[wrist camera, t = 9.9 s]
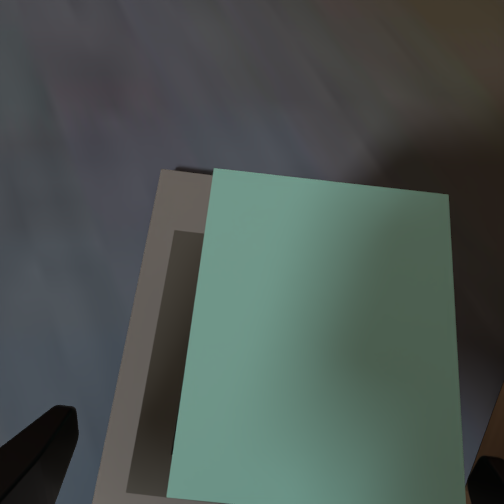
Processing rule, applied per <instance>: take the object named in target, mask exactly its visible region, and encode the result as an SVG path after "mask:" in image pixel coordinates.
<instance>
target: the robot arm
mask: <svg viewBox="0 0 504 504" xmlns="http://www.w3.org/2000/svg"><path fill="white" fill-rule="evenodd" d="M78 435H79V430H78V421H77V412H76V409H75V408H74V407H72V406H65V405H56V406H54V407H52V408H51V409H50V410H48V411H47V412H46V413H44V414H43V415H42V416H41V417H39V418H38V419H37V420H35V421H34V422H33V423H31V424H30V425H29V426H28V427H26V428H25V429H24V430H22V431H21V432H20V433H18V434H17V435H16V436H15V437H13V438H12V439H11V440H9V441H8V442H7V443H5V444H4V445H3V446H2V447H0V504H55V502H56V499H57V496H58V493H59V491H60V488H61V485H62V483H63V480H64V477H65V474H66V472H67V469H68V466H69V463H70V461H71V458H72V455H73V452H74V450H75V447H76V444H77V441H78ZM467 488H468V493H469V497H470V501H471V504H504V460H503V459H502V458H500V457H495V456H487V455H482V456H481V457H479V458H478V460H477V462H476V464H475V466H474V467H473V469H472V471H471V473H470V475H469V477H468V480H467Z"/></svg>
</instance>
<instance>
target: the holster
mask: <svg viewBox="0 0 504 504" xmlns="http://www.w3.org/2000/svg"><path fill="white" fill-rule="evenodd" d="M482 455H487V456H495V457H500V458H502V459H503V460H504V383H503V385H502V388H501V391H500V394H499V396H498V399H497V402H496V405H495V407H494V410H493V413H492V416H491V418H490V421H489V424H488V427H487V429H486V432H485V435H484V437H483V440H482V443H481V446H480V448H479V451H478V454H477V457H476V459H475V462H474V465H473V467H474V466H475V464H476V462H477V460H478V458H479V457H481V456H482ZM472 469H473V468H472ZM471 471H472V470H471ZM465 496H466V504H471V501H470V497H469V493H468V488H467V484H466V487H465Z"/></svg>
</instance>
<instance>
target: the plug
mask: <svg viewBox="0 0 504 504" xmlns="http://www.w3.org/2000/svg"><path fill="white" fill-rule="evenodd" d="M166 497H167V498H177V499H187V500H198V501H208V502H218V503H228V504H466V496H465V478H464V460H463V442H462V424H461V407H460V389H459V371H458V353H457V336H456V318H455V300H454V282H453V264H452V247H451V229H450V211H449V195H448V194H439V193H430V192H421V191H412V190H403V189H394V188H386V187H377V186H368V185H359V184H350V183H341V182H332V181H323V180H314V179H305V178H296V177H287V176H279V175H270V174H261V173H252V172H243V171H234V170H225V169H216V168H214V171H213V178H212V185H211V192H210V199H209V206H208V212H207V219H206V226H205V233H204V240H203V247H202V254H201V261H200V268H199V275H198V282H197V289H196V295H195V302H194V309H193V316H192V323H191V330H190V337H189V344H188V351H187V358H186V365H185V372H184V378H183V385H182V392H181V399H180V406H179V413H178V420H177V427H176V434H175V441H174V448H173V455H172V461H171V468H170V475H169V482H168V489H167V496H166Z"/></svg>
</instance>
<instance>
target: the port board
mask: <svg viewBox="0 0 504 504" xmlns="http://www.w3.org/2000/svg"><path fill="white" fill-rule="evenodd" d="M212 178H213V175H206V174H198V173H190V172H182V171H174V170H166V169H161V173H160V178H159V183H158V188H157V192H156V197H155V202H154V207H153V212H152V217H151V221H150V226H149V231H148V236H147V241H146V246H145V250H144V255H143V260H142V265H141V270H140V275H139V279H138V284H137V289H136V294H135V299H134V304H133V308H132V313H131V318H130V323H129V328H128V333H127V337H126V342H125V347H124V352H123V357H122V362H121V366H120V371H119V376H118V381H117V386H116V391H115V395H114V400H113V405H112V410H111V415H110V420H109V424H108V429H107V434H106V439H105V444H104V448H103V453H102V458H101V463H100V468H99V473H98V477H97V482H96V487H95V492H94V497H93V502H92V504H228V503H218V502H208V501H198V500H187V499H177V498H167V497H166V496H167V489H168V482H169V475H170V468H171V461H172V455H173V448H174V441H175V434H176V427H177V420H178V413H179V406H180V399H181V392H182V385H183V378H184V372H185V365H186V358H187V351H188V344H189V337H190V330H191V323H192V316H193V309H194V302H195V295H196V289H197V282H198V275H199V268H200V261H201V254H202V247H203V240H204V233H205V226H206V219H207V212H208V206H209V199H210V192H211V185H212Z"/></svg>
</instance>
